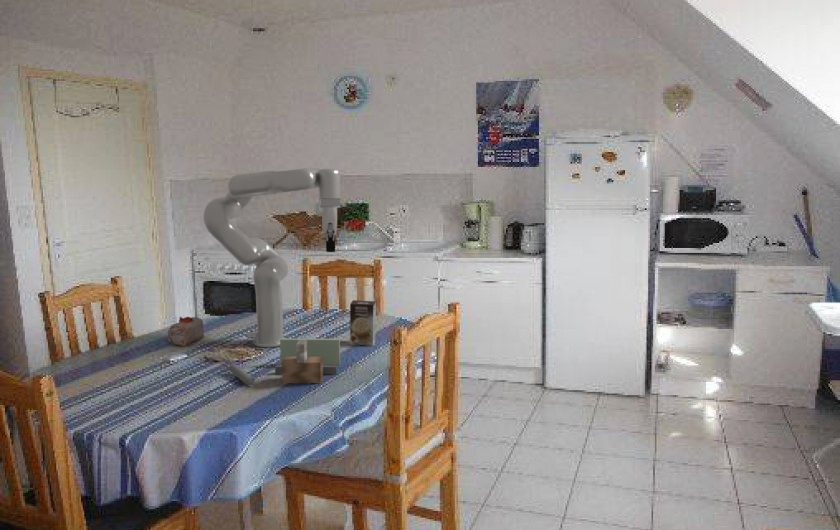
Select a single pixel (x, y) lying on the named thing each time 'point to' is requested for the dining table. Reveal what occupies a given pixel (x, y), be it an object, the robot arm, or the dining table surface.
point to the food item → (186, 331)
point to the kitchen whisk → (235, 369)
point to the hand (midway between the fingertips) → (330, 249)
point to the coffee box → (362, 323)
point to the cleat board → (313, 352)
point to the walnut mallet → (302, 367)
